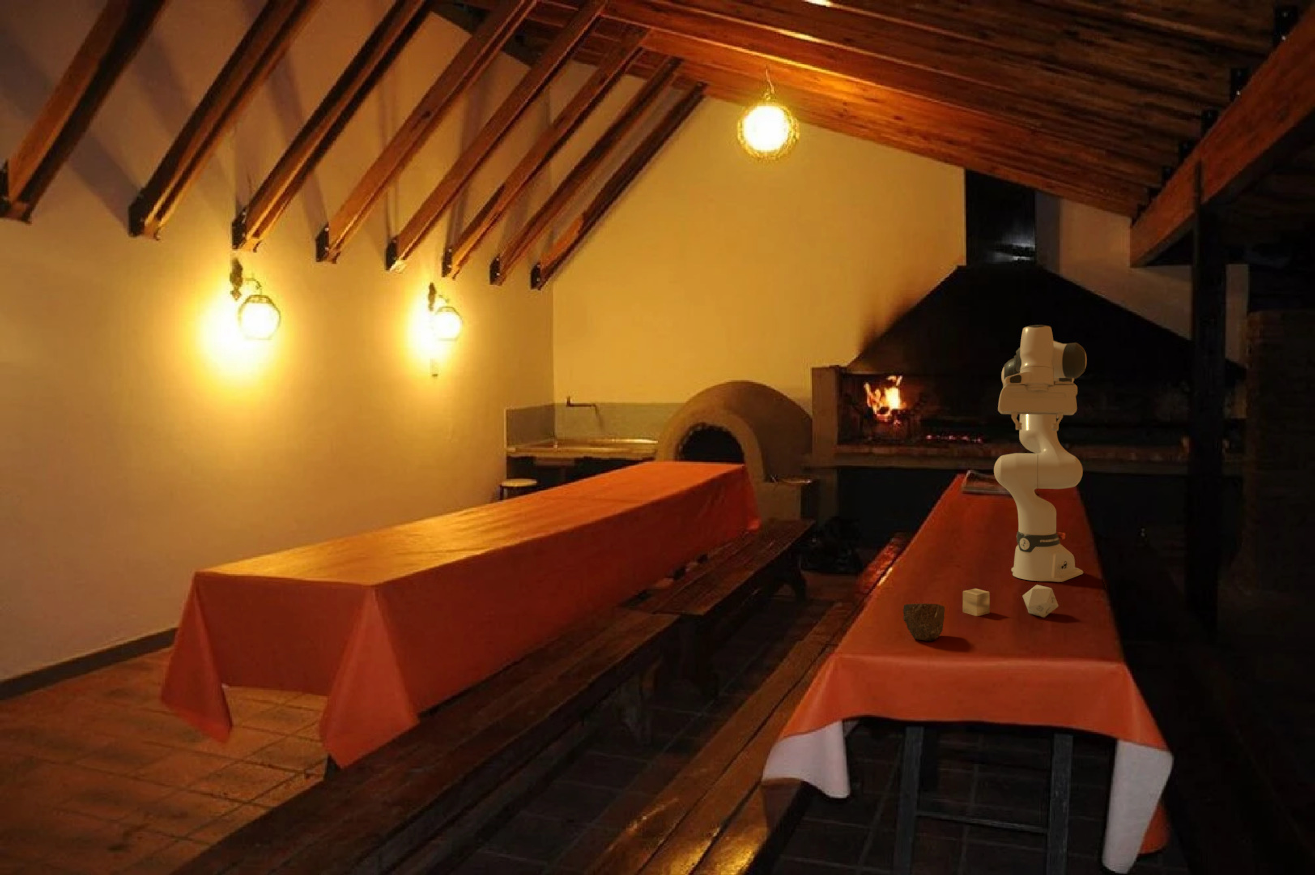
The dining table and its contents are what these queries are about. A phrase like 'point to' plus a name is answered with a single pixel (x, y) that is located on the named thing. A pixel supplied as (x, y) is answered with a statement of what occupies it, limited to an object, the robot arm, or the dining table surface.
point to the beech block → (976, 602)
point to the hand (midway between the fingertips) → (1036, 429)
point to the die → (1040, 601)
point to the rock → (924, 620)
